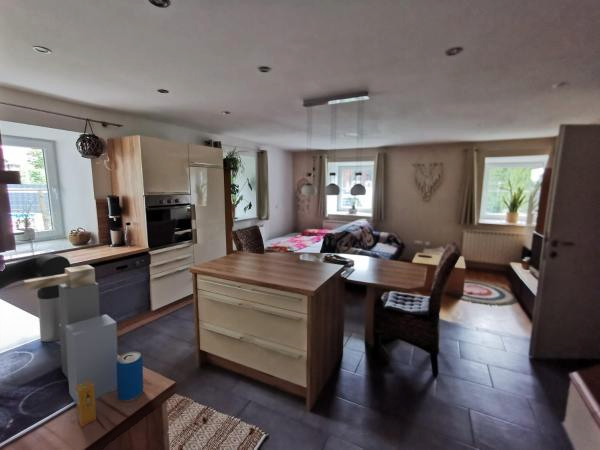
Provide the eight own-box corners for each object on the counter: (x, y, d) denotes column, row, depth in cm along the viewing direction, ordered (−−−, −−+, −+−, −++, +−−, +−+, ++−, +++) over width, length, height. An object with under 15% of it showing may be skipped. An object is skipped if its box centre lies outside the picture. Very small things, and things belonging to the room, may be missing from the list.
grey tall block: (69, 393, 81) (65, 325, 79) (108, 376, 89) (106, 314, 87) (78, 406, 76) (74, 335, 74) (118, 387, 84) (116, 322, 82)
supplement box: (92, 413, 75) (90, 378, 73) (96, 419, 73) (94, 384, 71) (76, 420, 72) (74, 385, 71) (80, 428, 70) (78, 391, 69)
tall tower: (62, 370, 91) (56, 282, 87) (91, 359, 97) (87, 277, 93) (73, 387, 84) (68, 292, 80) (104, 374, 90) (100, 285, 86)
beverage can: (135, 384, 86) (134, 348, 85) (147, 392, 83) (147, 355, 81) (113, 397, 81) (111, 358, 79) (125, 406, 77) (123, 366, 76)
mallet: (27, 297, 75) (26, 279, 75) (23, 291, 79) (21, 274, 78) (95, 283, 88) (94, 268, 87) (88, 279, 91) (88, 264, 91)
